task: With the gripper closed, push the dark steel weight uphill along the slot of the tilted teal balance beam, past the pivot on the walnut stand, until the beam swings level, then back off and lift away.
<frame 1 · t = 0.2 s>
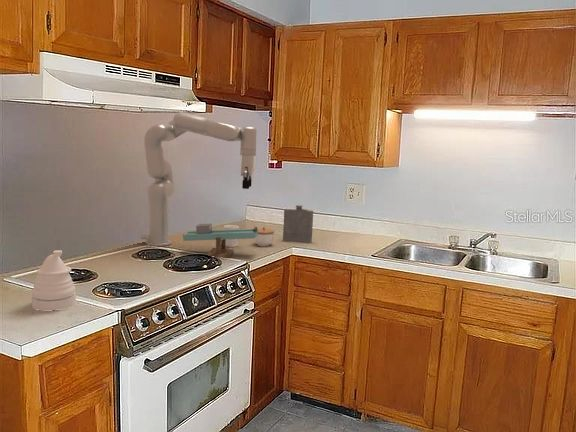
hand: (246, 187, 252), 31 cm above the countertop, tool pointing down, fingers open, 9 cm apart
white cup: (230, 245, 264), on the countertop
hip flask: (297, 241, 281), on the countertop
honey pot: (54, 305, 166), on the countertop
beam: (220, 234, 243), point 9 cm above the countertop, hinge at -5.6°, touching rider
lidded jar: (263, 245, 268), on the countertop
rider: (204, 234, 243), point 9 cm above the countertop, tilted 6°, touching beam
stand: (220, 254, 244), on the countertop
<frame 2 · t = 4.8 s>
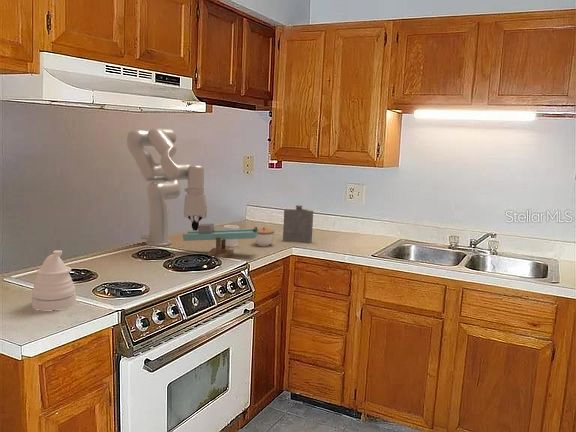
hand: (195, 230, 243), 11 cm above the countertop, tool pointing down, fingers closed
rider: (206, 234, 243), point 9 cm above the countertop, tilted 6°, touching beam, gripper
everything else where it was.
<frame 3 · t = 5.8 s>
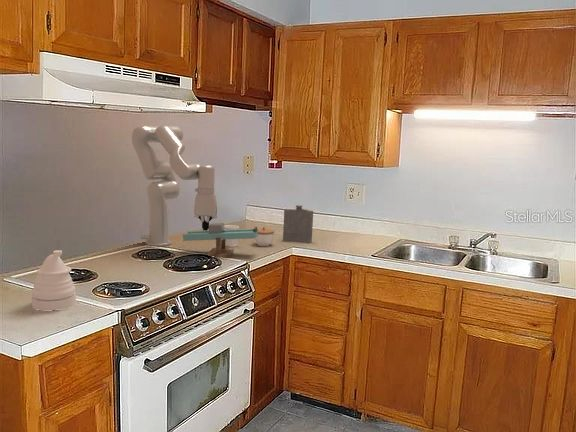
hand: (205, 230, 243), 11 cm above the countertop, tool pointing down, fingers closed
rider: (217, 233, 243), point 10 cm above the countertop, tilted 5°, touching beam, gripper
everything else where it was.
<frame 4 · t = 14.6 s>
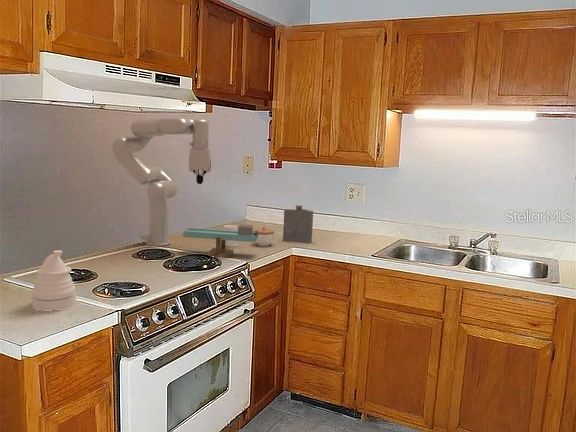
hand: (199, 183, 249), 32 cm above the countertop, tool pointing down, fingers closed
beam: (221, 234, 243), point 9 cm above the countertop, hinge at 0.6°, touching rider
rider: (245, 235, 241), point 10 cm above the countertop, touching beam
everything else where it was.
at the end: beam at +1° (first picture: -6°); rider inside the target area on the beam (1.5 cm from its centre), point 1.9 cm above the beam's base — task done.
